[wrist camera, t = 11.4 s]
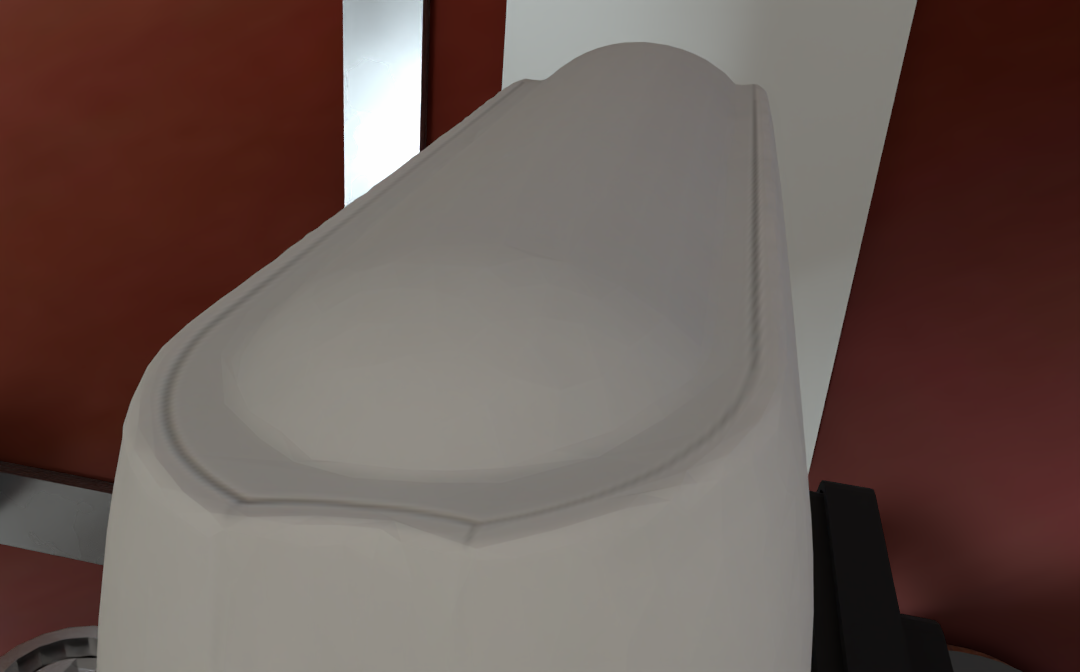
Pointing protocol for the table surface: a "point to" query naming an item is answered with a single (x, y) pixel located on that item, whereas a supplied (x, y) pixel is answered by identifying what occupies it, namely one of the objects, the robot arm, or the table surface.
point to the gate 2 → (383, 88)
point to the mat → (797, 113)
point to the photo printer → (493, 410)
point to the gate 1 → (54, 512)
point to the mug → (976, 661)
